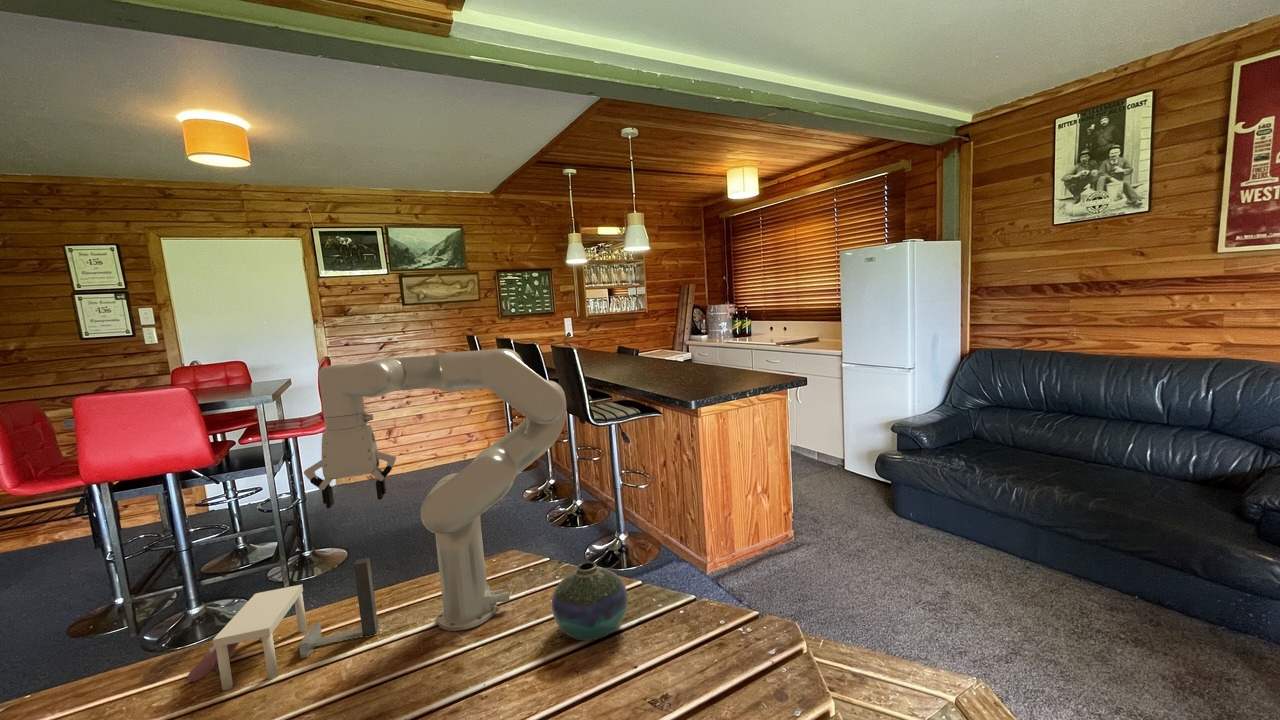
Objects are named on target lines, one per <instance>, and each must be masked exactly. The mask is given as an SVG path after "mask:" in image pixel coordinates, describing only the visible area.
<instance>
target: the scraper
mask: <svg viewBox="0 0 1280 720" xmlns="http://www.w3.org/2000/svg"><path fill="white" fill-rule="evenodd" d="M353 571H354V579H355V587H356V593H357V594H356V595H357V602H358V608H359V617H360V623H361V629H360V628H359V629H355V630H352V631H351V630H350V631H347V632H343V633H338V634H337V633H336V634H333V635H329V636H324V637H322V636H321V635H323V634H322V627H321V622H320V621H319V622H318V621H317V622H313V623H311V625H310V627H309V628H307V630H306V631H305V634H304V635H303V638H302V639H301V640H300V643H299V644H298V649H299V656H300V659H301V658H303V659H306V658H305V657H307V658H310V657H309V655H310V653H311V652H312V653H313V651H314V650H313V648H314V647H315V646H319V645H322V644H326V643H331V642H333V641H340V640H346V639H351V638H355V637H360V636H363V637H365V636H370V635H374V634H376V632H377V633H378V631H379V623H378V621H379V620H378V615H377V607H376V600H375V591H374V584H373V583H374V582H373V575H372V567H371V559H370V557H366V558H360V559H356V560H355V562H354V564H353ZM377 630H378V631H377ZM376 635H377V634H376ZM320 636H321V637H320ZM374 636H375V635H374ZM363 637H362V638H363ZM370 637H371V636H370ZM360 638H361V637H360ZM365 638H366V637H365ZM351 640H352V639H351ZM314 649H315V648H314ZM312 650H313V651H312ZM312 653H311V654H312ZM310 656H311V655H310Z"/></svg>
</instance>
